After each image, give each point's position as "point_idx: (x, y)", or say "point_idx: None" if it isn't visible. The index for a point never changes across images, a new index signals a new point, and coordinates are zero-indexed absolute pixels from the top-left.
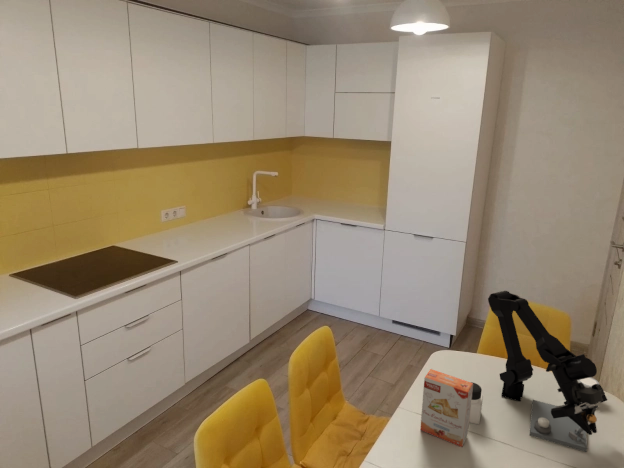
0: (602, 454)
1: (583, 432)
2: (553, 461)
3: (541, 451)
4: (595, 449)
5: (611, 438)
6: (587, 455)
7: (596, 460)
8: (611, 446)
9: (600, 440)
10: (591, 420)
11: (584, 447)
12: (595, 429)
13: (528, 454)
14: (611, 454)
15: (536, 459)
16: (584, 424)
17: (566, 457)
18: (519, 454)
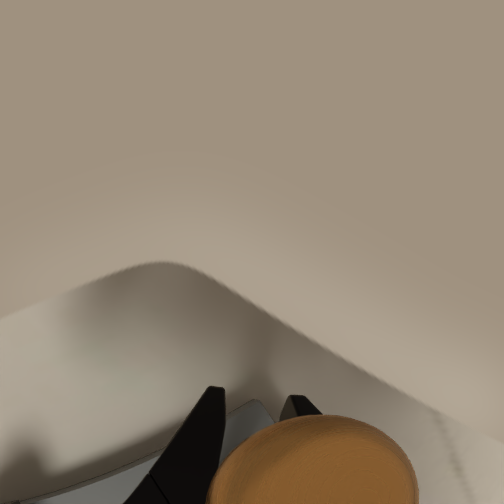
0: (182, 333)
1: (123, 488)
2: (446, 422)
3: (436, 484)
4: (175, 379)
5: (8, 352)
6: (273, 380)
7: (266, 329)
8: (68, 328)
9: (69, 392)
10: (403, 455)
11: (268, 414)
12: (218, 403)
13: (478, 478)
14: (136, 300)
15: (478, 449)
16: None
17: (385, 421)
18: (494, 483)
